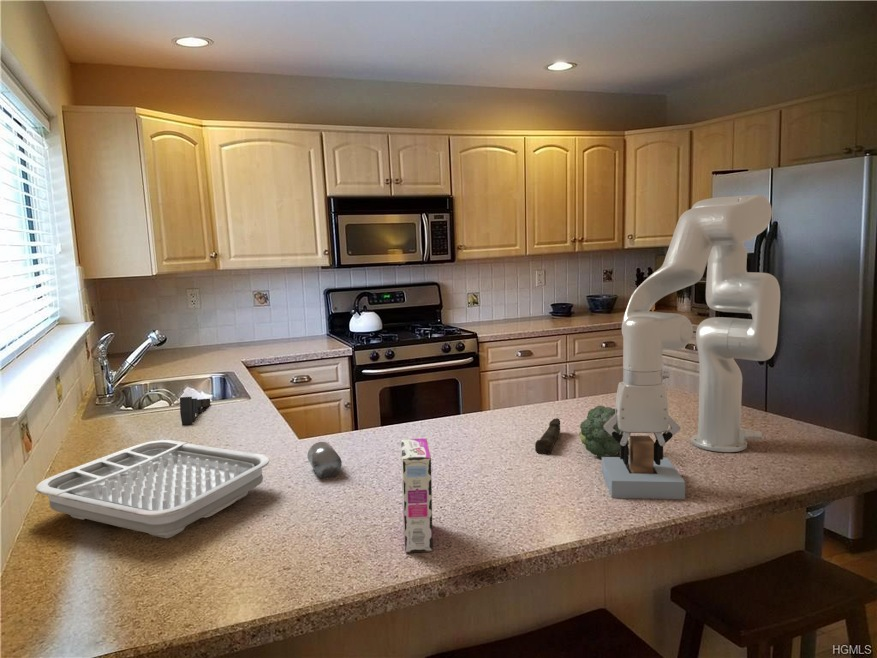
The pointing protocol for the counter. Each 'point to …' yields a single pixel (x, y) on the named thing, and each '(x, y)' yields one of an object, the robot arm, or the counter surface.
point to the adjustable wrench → (191, 408)
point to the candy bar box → (417, 495)
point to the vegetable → (599, 432)
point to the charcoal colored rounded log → (548, 438)
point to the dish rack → (155, 485)
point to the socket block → (643, 480)
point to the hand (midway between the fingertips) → (641, 461)
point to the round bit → (324, 460)
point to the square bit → (641, 455)
